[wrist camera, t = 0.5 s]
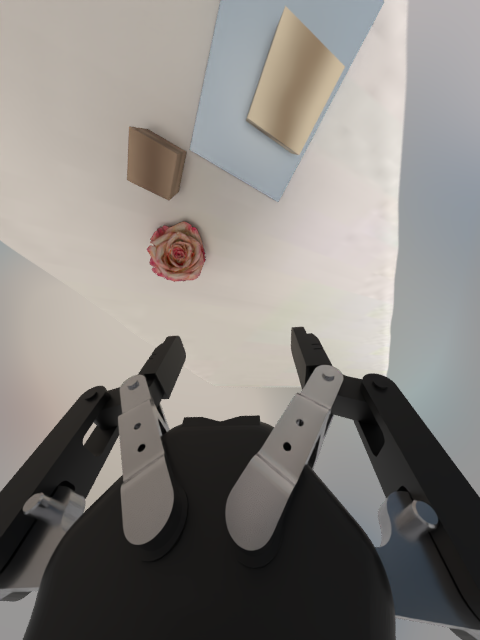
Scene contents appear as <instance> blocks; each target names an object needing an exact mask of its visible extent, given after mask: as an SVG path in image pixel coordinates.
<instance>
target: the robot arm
mask: <svg viewBox="0 0 480 640" xmlns="http://www.w3.org/2000/svg"><path fill="white" fill-rule="evenodd" d="M291 351H292V355H293V359H294V362H295V366H296V369H297V373H298V376H299V380H300V383H301V387H302V391H301V393H300V394H299V393H296V394H295V396H294V397H293V399H292V400H291V402H290V403H289V405H288V407H287V408H286V410H285V412H284V413H283V415H282V416H281V418H280V419H279V421H278V423H277V424H276V426H275V427H272V426H270V425H269V424H266V423H263V422H260V416H239V417H235V418H232V419H228V420H225V421H221V422H220V421H215V420H212V419H208V418H203V417H186V418H184V420H183V423H182V424H181V425H179V426H176V427H174V428H172V429H171V430H169V427H168V424H167V421H166V419H165V415H164V413H163V410H162V407H161V404H160V401H161V399H169V397H170V395H171V392H172V390H173V388H174V385H175V383H176V381H177V378H178V376H179V374H180V371H181V369H182V366H183V364H184V362H185V359H186V353H185V349H184V347H183V344H182V341H181V339H180V337H179V336H168V337H167V338H166V340H165V341H164V343H163V344H160V345H159V346H158V347H157V348H155V350H154V352H153V353H152V355H151V356H150V357H149V360H147V362H146V363H145V365H144V366H143V368H142V369H141V371H140V372H139V374H138V375H135V376H132V377H130V378H128V379H127V380H126V381H125V382H123V384H122V385H121V387H119V388H116V389H113V390H109V391H107V390H106V388H105V387H103V386H96V387H93V388H91V389H89V390H88V391H86V392H85V393H84V394H82V395H81V396H80V397H79V399H78V400H77V401H76V402H75V404H74V405H73V406H72V407H71V408H70V410H69V411H68V412H67V413H66V414H65V415H64V417H63V418H62V419H61V420H60V421H59V423H58V424H57V425H56V426H55V427H54V429H53V430H52V431H51V432H50V433H49V435H48V436H47V437H46V438H45V439H44V441H43V442H42V443H41V444H40V445H39V446H38V448H37V449H36V450H35V451H34V452H33V454H32V455H31V456H30V457H29V459H28V460H27V461H26V462H25V463H24V465H23V466H22V467H21V468H20V469H19V471H18V472H17V473H16V474H15V475H14V476H13V478H12V479H11V480H10V481H9V482H8V484H7V485H6V486H5V487H4V488H3V490H2V491H1V492H0V601H18V600H20V599H22V598H24V597H25V596H27V595H28V594H29V593H30V592H32V591H38V594H37V598H36V602H35V606H34V609H33V612H32V615H31V619H30V622H29V625H28V627H27V630H26V633H25V635H24V638H23V640H396V636H395V618H398V619H404V620H409V621H415V622H420V623H426V624H431V625H437V626H442V627H448V628H450V630H452V631H453V632H454V633H455V634H456V635H457V636H458V637H460V638H461V639H462V640H480V497H479V496H478V495H477V494H476V492H475V491H474V489H473V488H472V487H471V485H470V484H469V483H468V481H467V480H466V478H465V477H464V476H463V475H462V473H461V472H460V470H459V469H458V468H457V466H456V465H455V464H454V462H453V461H452V460H451V458H450V457H449V456H448V454H447V453H446V452H445V450H444V449H443V448H442V446H441V445H440V443H439V442H438V441H437V440H436V438H435V437H434V435H433V434H432V433H431V431H430V430H429V429H428V428H427V426H426V425H425V423H424V422H423V421H422V419H421V418H420V416H419V415H418V414H417V412H416V411H415V410H414V408H413V407H412V406H411V404H410V403H409V402H408V400H407V399H406V398H405V396H404V395H403V394H402V392H401V391H400V390H399V388H398V387H397V386H396V384H395V383H394V382H393V381H392V380H390V379H389V378H387V377H385V376H382V375H379V374H367V375H365V376H364V377H363V379H358V378H353V377H348V376H345V375H343V374H342V373H341V371H340V370H338V369H337V368H335V367H333V366H332V364H331V362H330V360H329V358H328V356H327V355H326V353H325V351H324V349H323V347H322V345H321V343H320V341H319V339H318V338H317V337H316V336H315V335H313V334H312V333H311V334H307V333H306V331H305V329H304V327H292V329H291ZM334 415H338V416H341V417H345V418H349V419H352V420H354V423H355V425H356V427H357V430H358V432H359V435H360V437H361V439H362V442H363V444H364V446H365V449H366V451H367V454H368V456H369V458H370V461H371V463H372V465H373V468H374V470H375V472H376V475H377V477H378V479H379V482H380V484H381V487H382V489H383V492H384V494H385V496H386V500H385V501H384V502H383V503H382V505H381V506H380V508H379V511H378V519H379V524H380V527H381V533H382V542H381V545H380V547H374V545H373V544H372V542H371V540H370V539H369V537H368V536H367V534H366V533H365V532H364V530H363V529H362V528H361V526H360V525H359V524H358V523H357V522H356V521H355V519H354V518H353V517H352V516H351V515H350V513H349V512H348V511H347V510H346V509H345V507H344V506H343V505H342V504H341V503H340V502H339V500H338V499H337V498H336V497H335V496H334V495H333V493H332V492H331V491H330V490H329V489H328V488H327V486H326V485H325V484H324V483H323V482H322V480H321V479H320V478H319V477H318V476H317V475H316V473H315V472H314V471H313V469H314V466H315V464H316V461H317V459H318V456H319V453H320V450H321V447H322V444H323V441H324V439H325V436H326V434H327V431H328V429H329V426H330V424H331V422H332V419H333V417H334ZM93 422H94V423H95V424H96V425H97V426H96V428H95V429H94V431H93V432H92V434H91V435H90V437H89V438H88V440H87V441H86V443H85V444H84V446H83V438H84V435H85V434H86V432H87V431H88V429H89V428H90V426H91V425H92V424H93ZM118 436H120V448H121V459H122V470H123V475H122V476H121V477H120V478H119V479H118V480H117V481H116V482H115V483H114V484H113V485H112V486H111V487H110V488H109V489H108V490H107V491H106V492H105V493H104V494H103V495H102V496H101V497H100V498H99V499H98V500H96V502H94V503H93V504H92V505H91V506H90V508H88V509H87V510H86V511H85V512H84V509H85V499H86V497H87V495H88V493H89V491H90V489H91V488H92V486H93V484H94V482H95V480H96V478H97V476H98V474H99V472H100V470H101V468H102V467H103V465H104V463H105V461H106V459H107V457H108V455H109V453H110V451H111V449H112V447H113V445H114V444H115V442H116V440H117V438H118ZM83 512H84V513H83Z"/></svg>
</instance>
